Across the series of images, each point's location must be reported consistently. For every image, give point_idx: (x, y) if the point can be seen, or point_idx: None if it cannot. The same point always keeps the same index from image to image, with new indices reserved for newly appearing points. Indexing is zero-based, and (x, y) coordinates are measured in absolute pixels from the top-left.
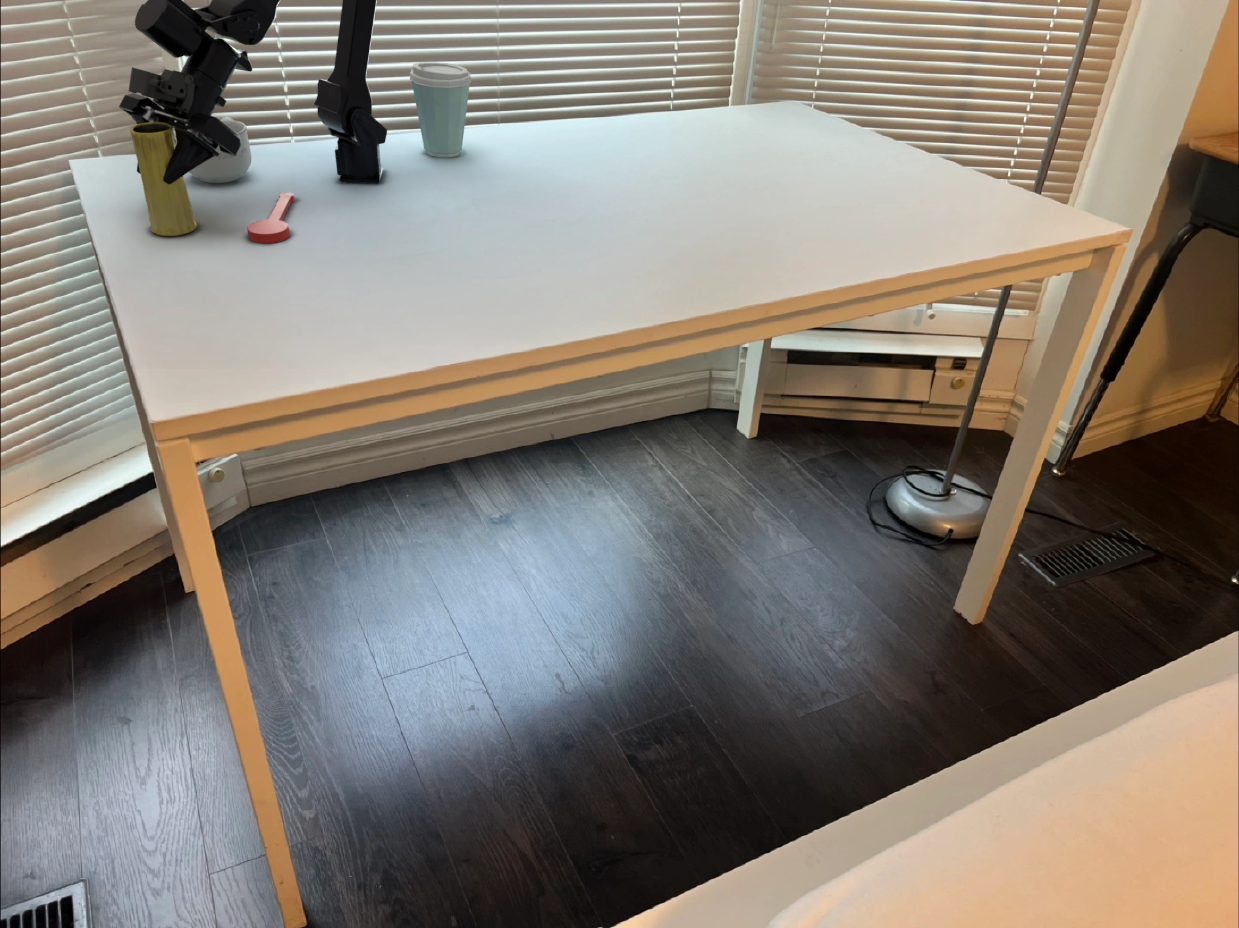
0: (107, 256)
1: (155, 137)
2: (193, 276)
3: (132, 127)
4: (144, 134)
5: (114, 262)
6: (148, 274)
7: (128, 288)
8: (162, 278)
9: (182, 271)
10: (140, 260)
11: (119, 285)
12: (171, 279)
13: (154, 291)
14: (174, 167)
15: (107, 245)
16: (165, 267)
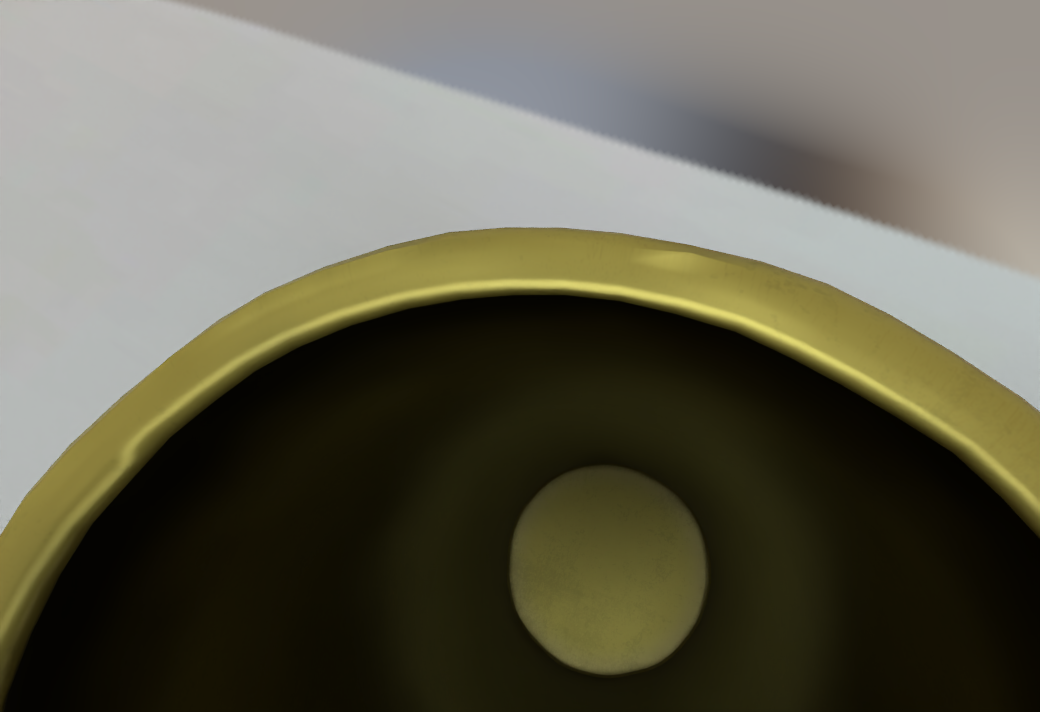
0: (499, 105)
1: (47, 621)
2: (6, 291)
3: (984, 439)
4: (142, 394)
5: (406, 99)
6: (172, 153)
7: (113, 28)
8: (91, 179)
9: (87, 283)
10: (340, 200)
11: (166, 13)
12: (53, 203)
13: (9, 94)
14: None
15: (639, 166)
16: (182, 248)
